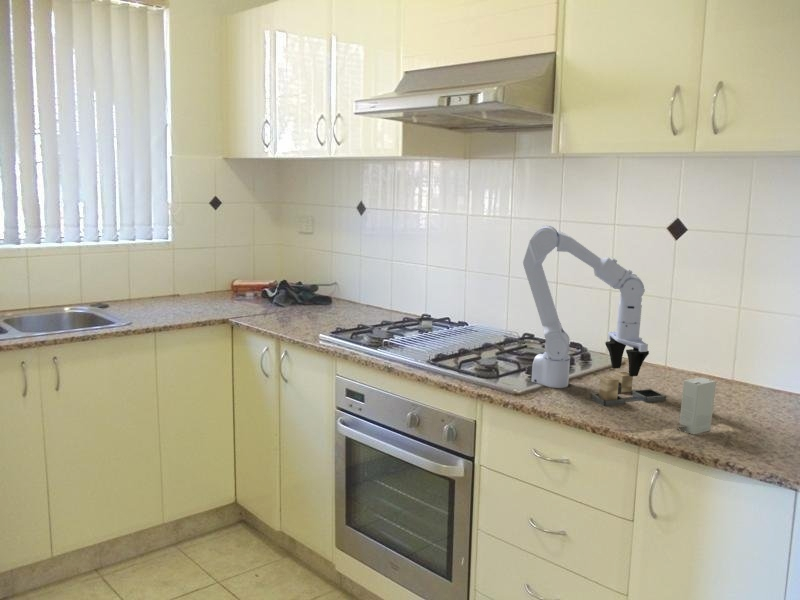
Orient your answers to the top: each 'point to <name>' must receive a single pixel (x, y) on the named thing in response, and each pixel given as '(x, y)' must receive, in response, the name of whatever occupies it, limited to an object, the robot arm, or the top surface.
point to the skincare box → (697, 405)
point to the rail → (639, 395)
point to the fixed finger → (609, 388)
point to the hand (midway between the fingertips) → (624, 371)
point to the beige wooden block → (624, 381)
